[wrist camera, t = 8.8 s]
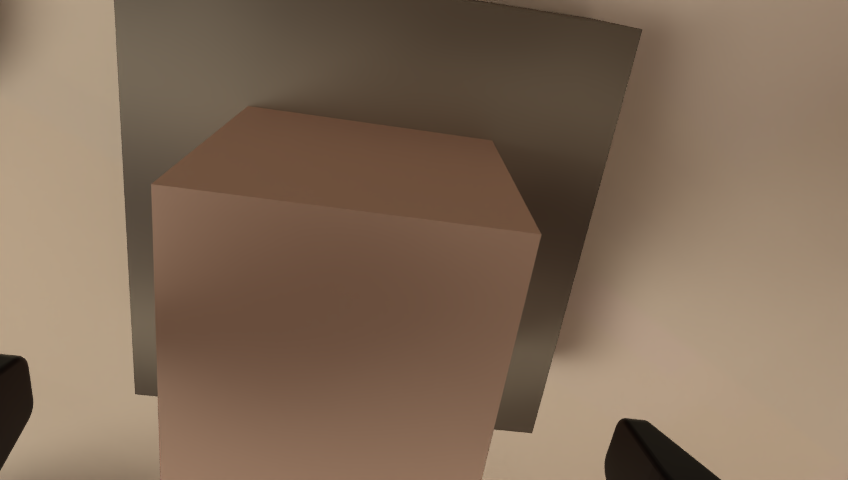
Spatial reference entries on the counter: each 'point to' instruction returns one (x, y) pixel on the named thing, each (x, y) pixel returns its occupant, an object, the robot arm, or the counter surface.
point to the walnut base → (383, 116)
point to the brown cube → (335, 301)
